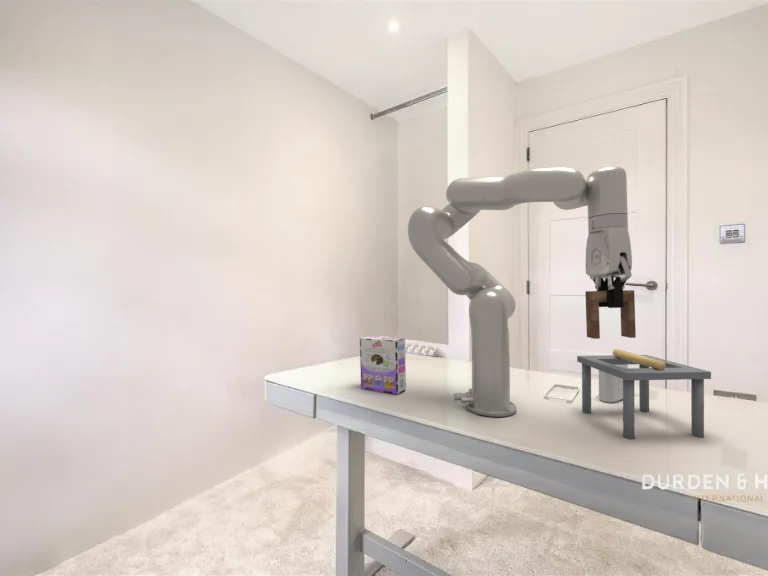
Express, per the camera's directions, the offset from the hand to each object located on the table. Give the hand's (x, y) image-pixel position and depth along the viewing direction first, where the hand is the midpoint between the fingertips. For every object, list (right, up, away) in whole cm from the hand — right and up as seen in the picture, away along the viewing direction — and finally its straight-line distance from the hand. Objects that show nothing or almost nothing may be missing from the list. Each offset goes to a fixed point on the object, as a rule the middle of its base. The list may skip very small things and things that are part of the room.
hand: (609, 306), depth 79 cm
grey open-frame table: (+9, -27, +4) cm, 29 cm away
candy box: (-51, -28, +32) cm, 67 cm away
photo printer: (+14, -28, +21) cm, 37 cm away
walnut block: (0, -7, 0) cm, 7 cm away
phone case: (+2, -28, +26) cm, 38 cm away
